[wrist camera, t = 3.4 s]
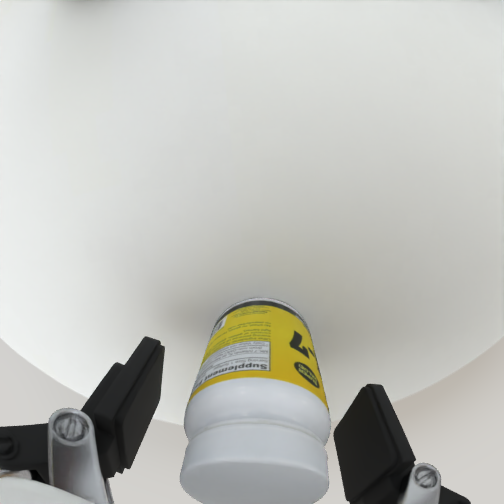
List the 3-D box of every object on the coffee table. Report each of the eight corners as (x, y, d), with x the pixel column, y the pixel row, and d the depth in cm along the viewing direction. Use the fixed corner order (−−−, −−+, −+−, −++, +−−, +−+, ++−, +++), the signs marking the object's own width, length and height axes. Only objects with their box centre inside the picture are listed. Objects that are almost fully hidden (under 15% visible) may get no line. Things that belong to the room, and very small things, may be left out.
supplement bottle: (318, 362, 14) (350, 505, 5) (233, 383, 14) (210, 521, 6) (295, 281, 12) (331, 433, 4) (198, 309, 13) (129, 453, 5)
